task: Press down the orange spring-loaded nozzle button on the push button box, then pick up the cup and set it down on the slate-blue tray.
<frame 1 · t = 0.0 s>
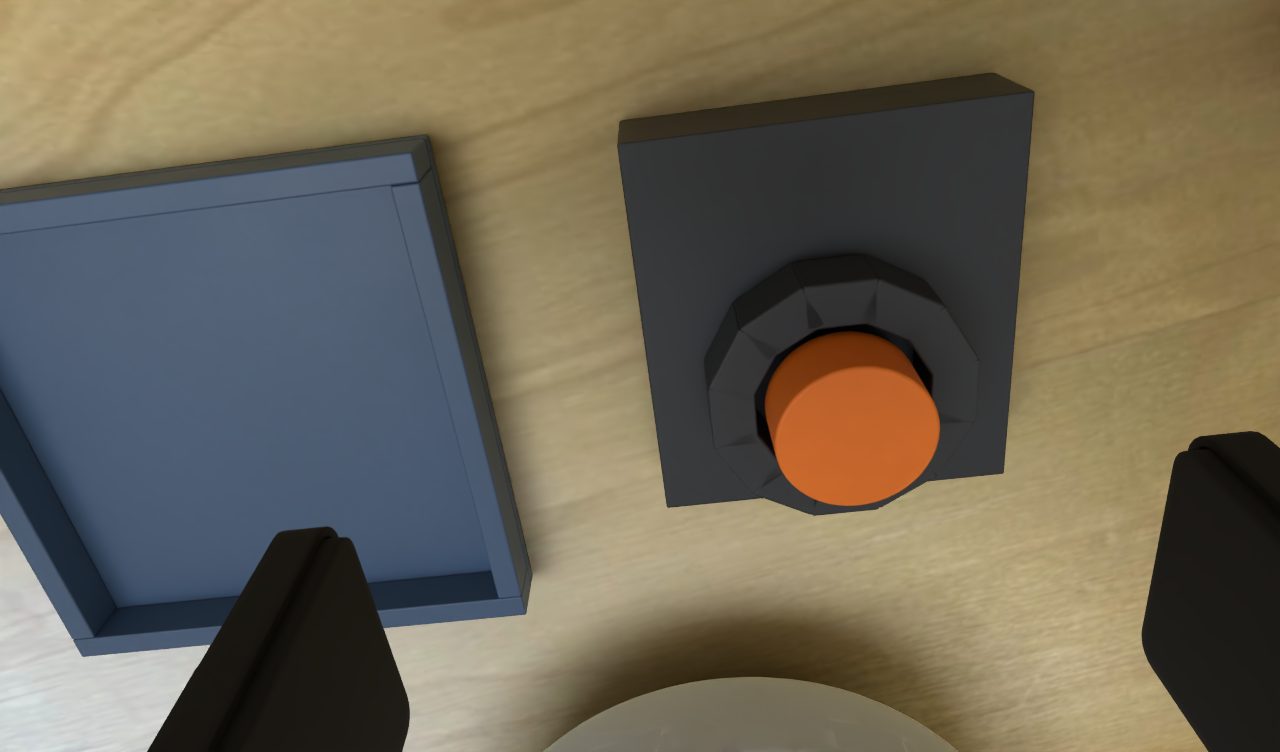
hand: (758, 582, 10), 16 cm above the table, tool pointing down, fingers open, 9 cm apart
tray: (247, 410, 28), on the table
push button box: (811, 286, 26), on the table
nozzle button: (848, 418, 22), point 5 cm above the table, slide at 0.1 cm
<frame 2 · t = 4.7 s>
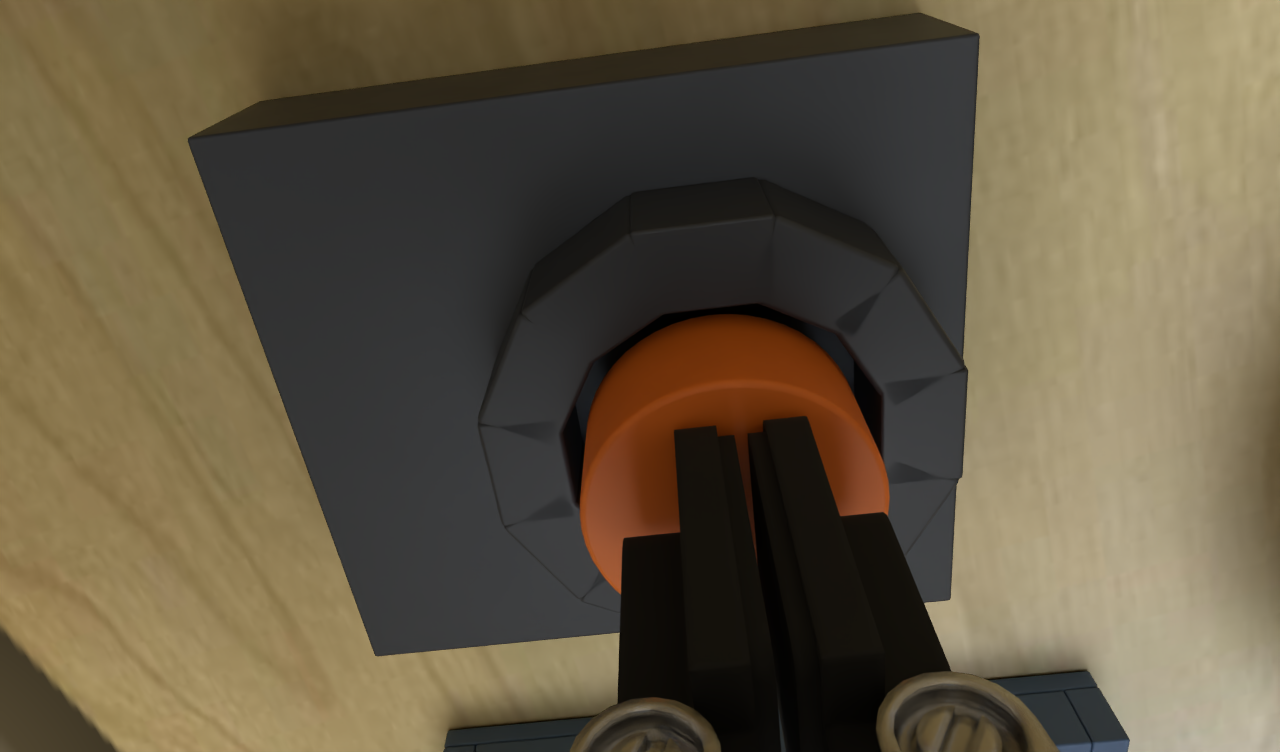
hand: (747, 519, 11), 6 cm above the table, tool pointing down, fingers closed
push button box: (624, 332, 17), on the table
nozzle button: (727, 473, 12), point 5 cm above the table, slide at 0.0 cm, touching gripper
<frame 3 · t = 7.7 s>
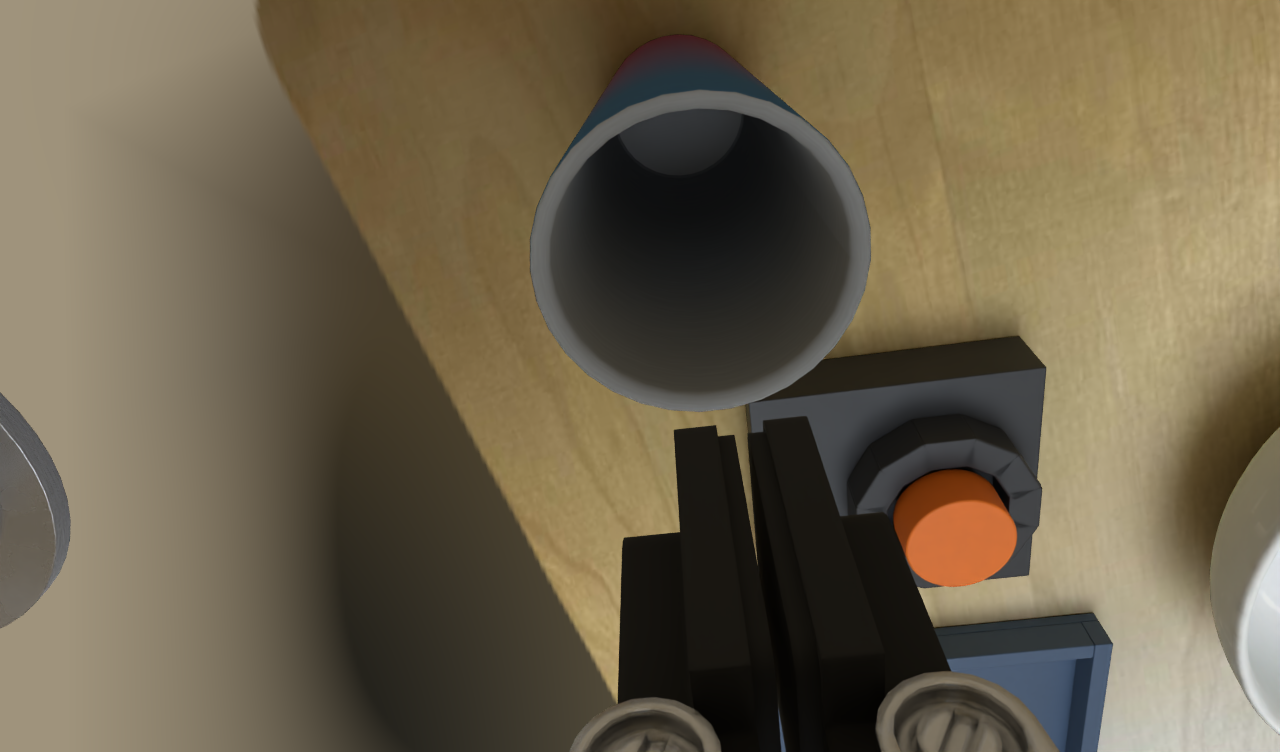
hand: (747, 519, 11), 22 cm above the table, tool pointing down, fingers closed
tray: (924, 739, 46), on the table
push button box: (880, 456, 37), on the table
nozzle button: (953, 527, 33), point 5 cm above the table, slide at 0.1 cm
cup: (678, 109, 31), on the table
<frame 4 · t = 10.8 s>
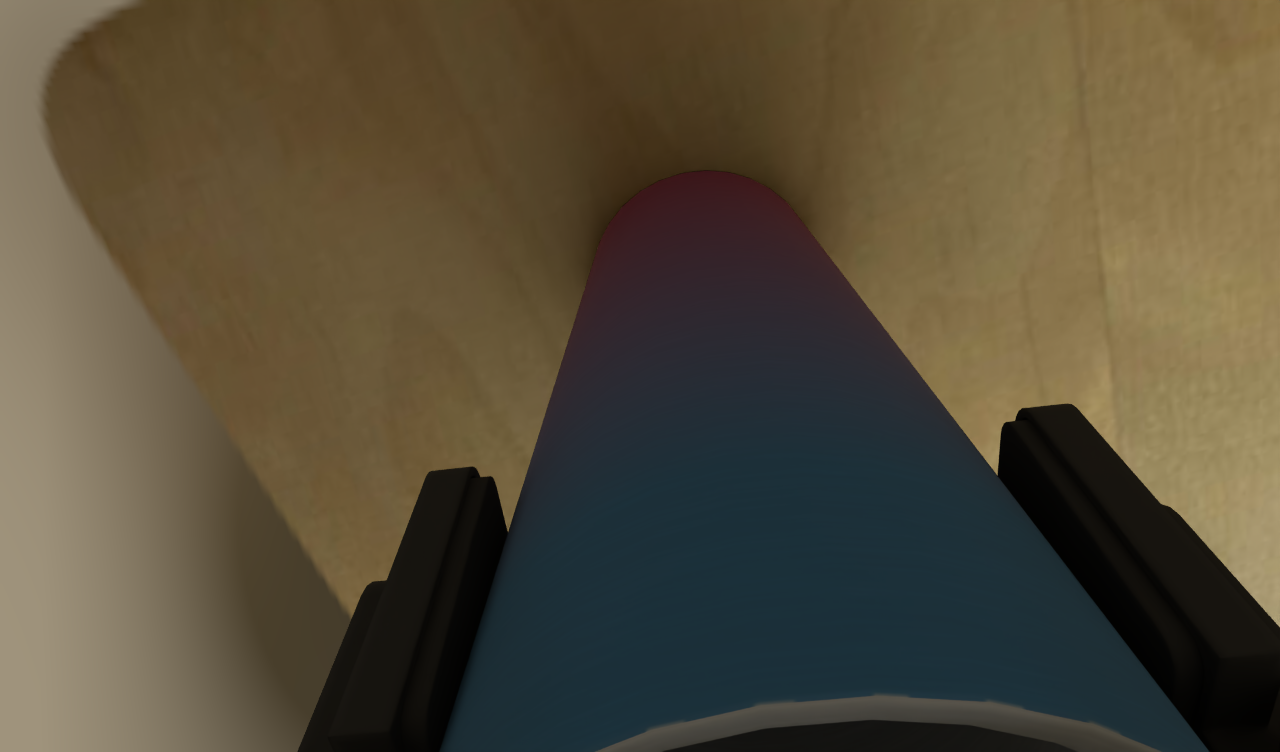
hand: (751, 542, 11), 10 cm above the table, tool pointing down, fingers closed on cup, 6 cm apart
cup: (703, 276, 20), on the table, touching gripper
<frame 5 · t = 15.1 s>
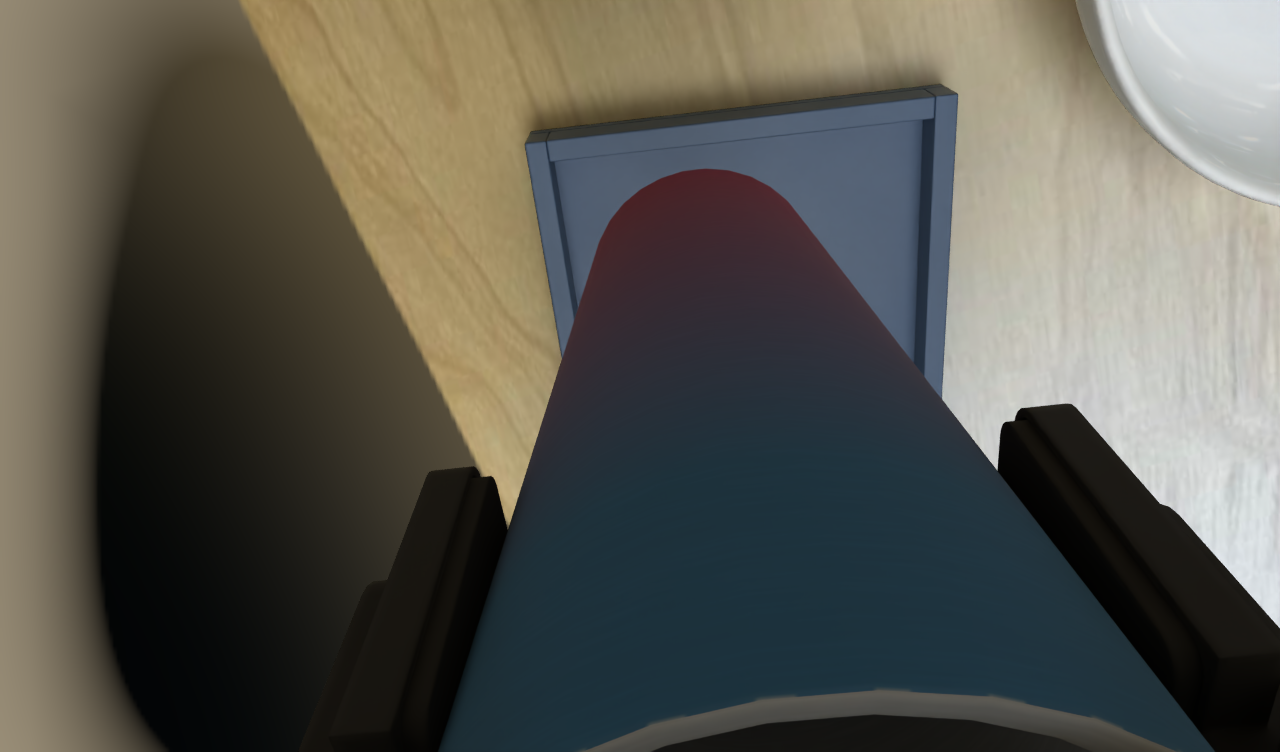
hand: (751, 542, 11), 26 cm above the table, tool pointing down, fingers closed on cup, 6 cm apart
tray: (745, 297, 37), on the table
cup: (703, 274, 20), point 15 cm above the table, touching gripper
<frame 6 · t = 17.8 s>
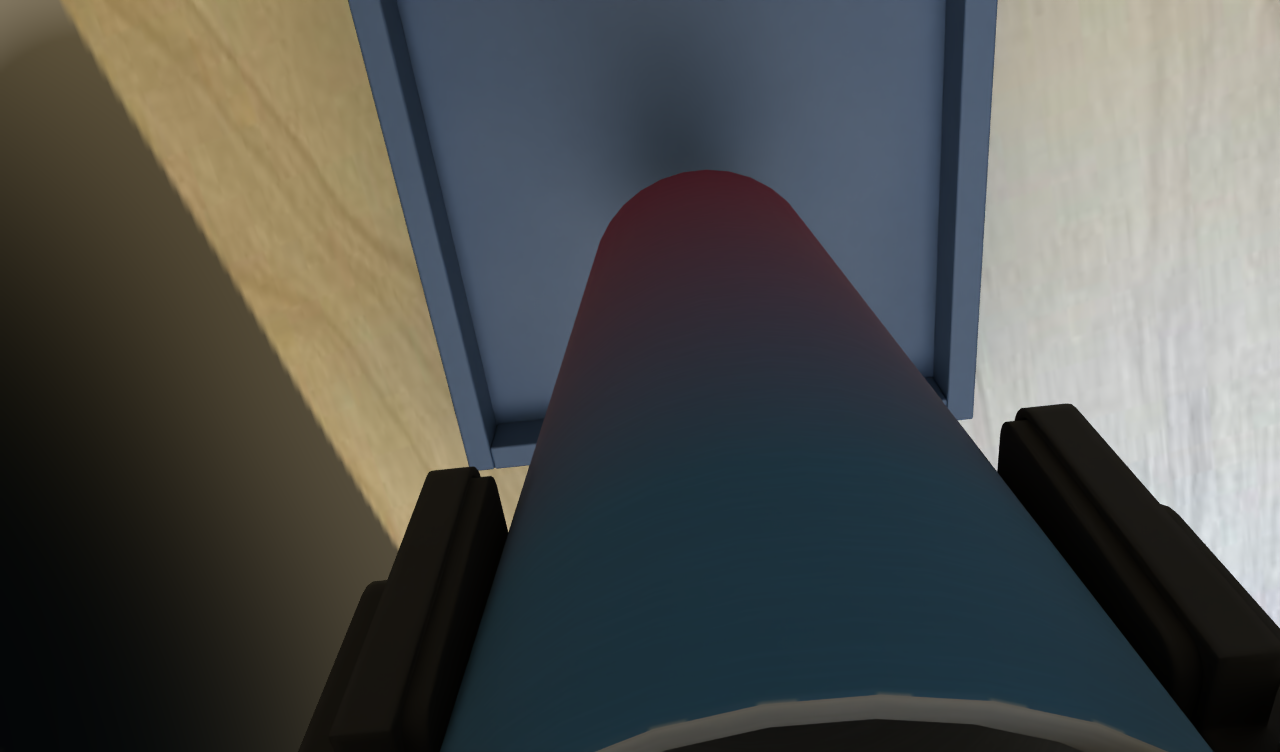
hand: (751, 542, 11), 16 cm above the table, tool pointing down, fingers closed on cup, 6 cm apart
tray: (689, 181, 25), on the table
cup: (703, 275, 20), point 6 cm above the table, touching gripper
when the fingers open (10 cm above the table, at t = 19.7 s): cup stays where it is, resting on tray.
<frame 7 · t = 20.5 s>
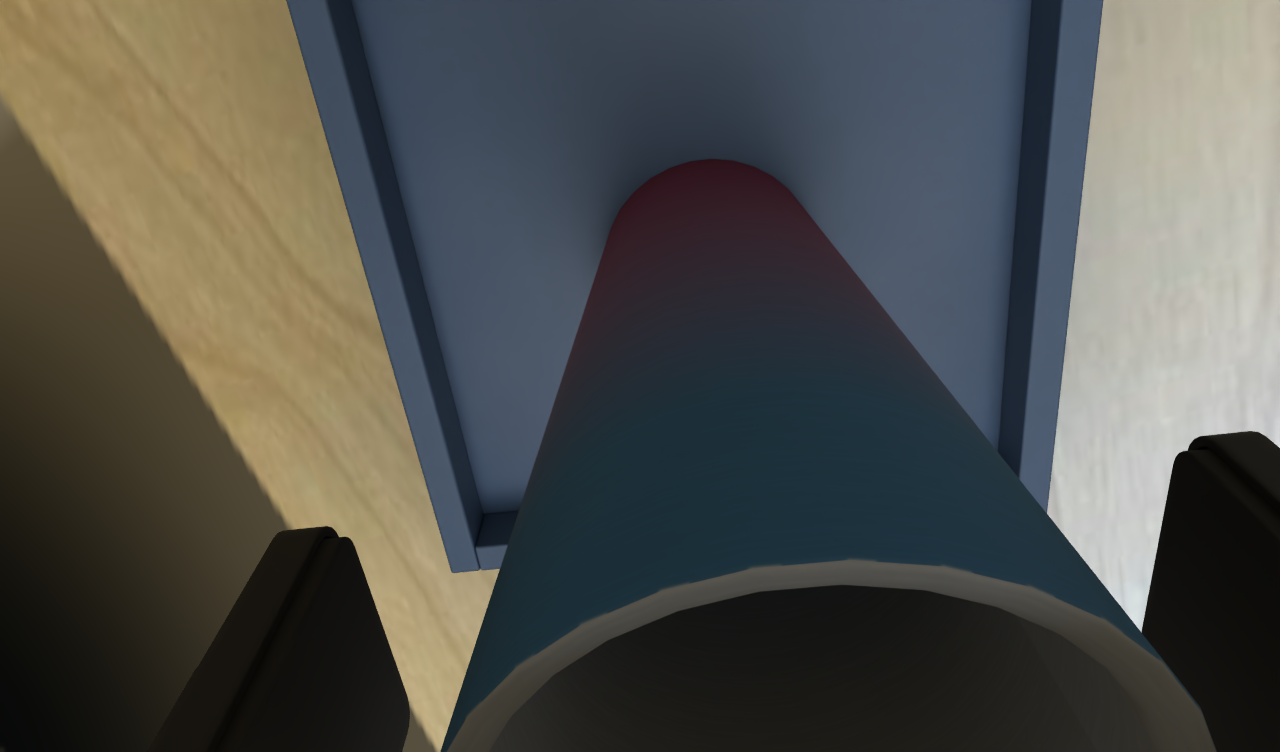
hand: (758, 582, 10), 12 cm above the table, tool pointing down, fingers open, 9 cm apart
tray: (711, 239, 21), on the table
cup: (709, 260, 21), resting on tray
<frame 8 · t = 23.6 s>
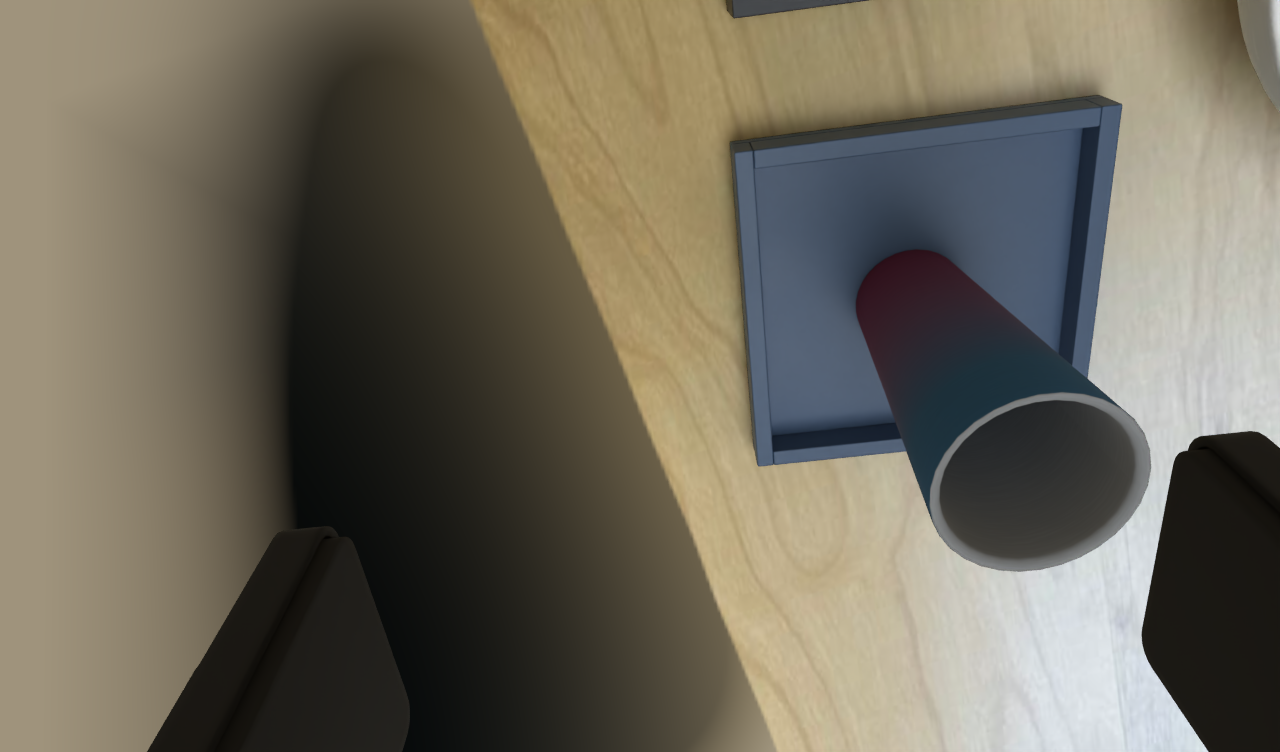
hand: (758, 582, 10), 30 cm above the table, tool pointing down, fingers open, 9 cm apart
tray: (909, 287, 41), on the table
cup: (908, 298, 41), resting on tray
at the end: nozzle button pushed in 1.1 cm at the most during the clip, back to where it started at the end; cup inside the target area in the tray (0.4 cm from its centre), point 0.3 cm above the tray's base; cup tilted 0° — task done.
